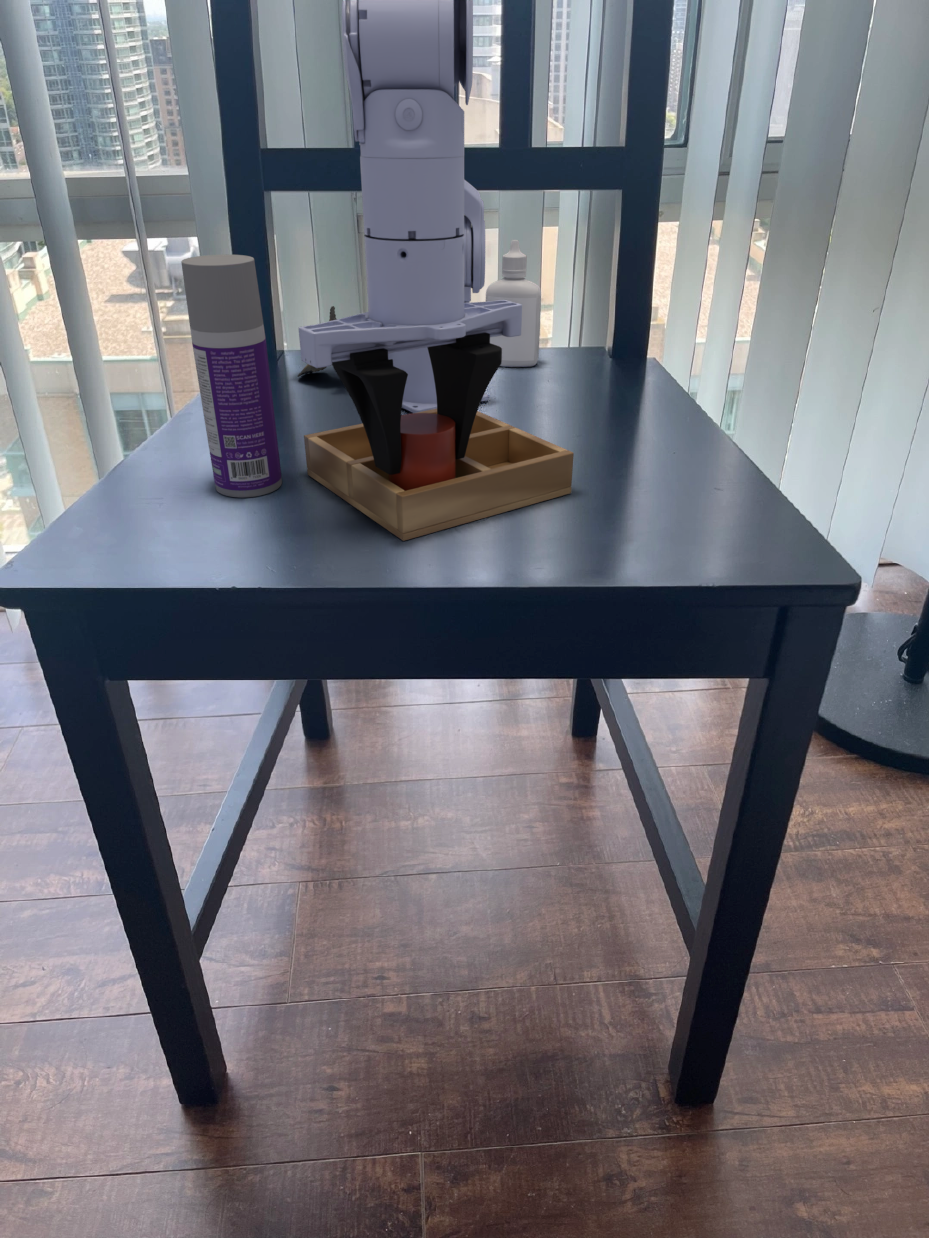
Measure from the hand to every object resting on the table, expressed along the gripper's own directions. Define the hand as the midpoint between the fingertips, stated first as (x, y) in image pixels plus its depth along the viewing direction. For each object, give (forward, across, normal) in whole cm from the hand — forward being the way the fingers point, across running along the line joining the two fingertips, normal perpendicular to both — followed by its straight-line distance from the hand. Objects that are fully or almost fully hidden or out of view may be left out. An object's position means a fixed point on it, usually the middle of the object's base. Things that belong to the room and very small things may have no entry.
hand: (420, 462), depth 56 cm
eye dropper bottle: (+3, +28, +27) cm, 39 cm away
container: (+3, -8, +11) cm, 14 cm away
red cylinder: (+1, 0, 0) cm, 1 cm away
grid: (+3, +3, +3) cm, 6 cm away
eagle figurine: (+3, +10, +31) cm, 33 cm away
